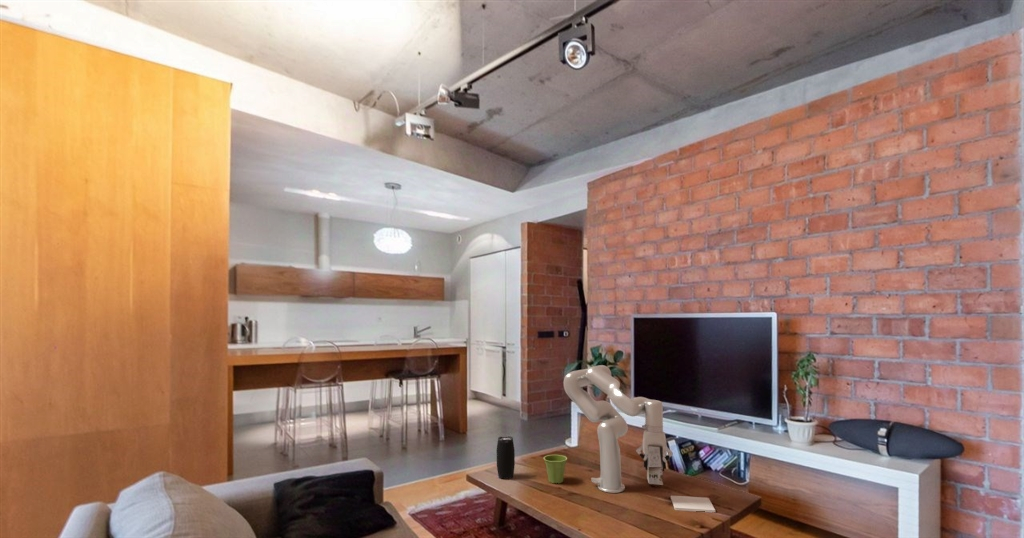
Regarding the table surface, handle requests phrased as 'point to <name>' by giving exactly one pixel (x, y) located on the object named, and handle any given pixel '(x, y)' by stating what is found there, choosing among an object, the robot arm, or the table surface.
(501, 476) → the portable speaker
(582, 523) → the table surface
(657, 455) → the coffee box
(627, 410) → the robot arm
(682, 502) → the rest mat
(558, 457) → the plant pot
